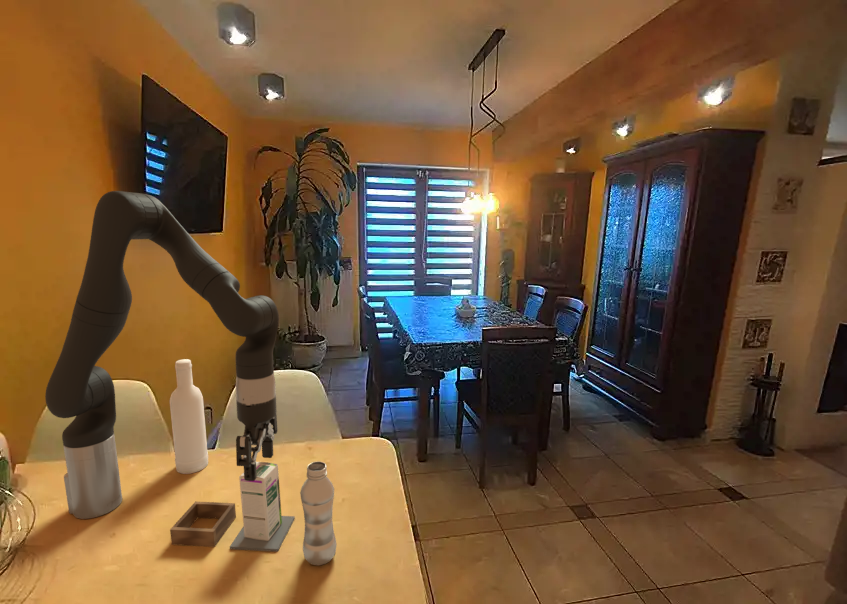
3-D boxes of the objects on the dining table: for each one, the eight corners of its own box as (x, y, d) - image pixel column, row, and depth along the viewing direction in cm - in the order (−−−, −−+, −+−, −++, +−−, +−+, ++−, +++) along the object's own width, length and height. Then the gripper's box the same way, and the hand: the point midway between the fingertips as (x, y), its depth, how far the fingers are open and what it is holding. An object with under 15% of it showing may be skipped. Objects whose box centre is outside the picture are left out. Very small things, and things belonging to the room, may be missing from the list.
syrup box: (268, 541, 91) (265, 478, 88) (243, 537, 92) (238, 475, 89) (282, 523, 96) (279, 463, 94) (257, 519, 97) (254, 460, 95)
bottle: (196, 455, 124) (187, 354, 119) (215, 462, 121) (206, 359, 115) (169, 469, 117) (158, 362, 112) (188, 477, 114) (178, 367, 108)
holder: (171, 544, 90) (170, 529, 90) (196, 515, 99) (195, 501, 99) (214, 546, 90) (213, 531, 89) (236, 517, 99) (235, 503, 98)
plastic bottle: (320, 575, 83) (317, 480, 79) (295, 560, 87) (291, 468, 83) (343, 554, 88) (341, 464, 85) (319, 541, 92) (316, 453, 88)
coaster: (229, 549, 89) (229, 546, 89) (251, 516, 99) (251, 514, 99) (277, 551, 89) (277, 549, 89) (294, 518, 99) (294, 516, 99)
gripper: (253, 381, 95) (256, 449, 98) (220, 408, 81) (225, 487, 84) (287, 382, 95) (289, 451, 98) (259, 410, 81) (263, 489, 84)
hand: (259, 468), depth 91 cm, fingers open, 8 cm apart
